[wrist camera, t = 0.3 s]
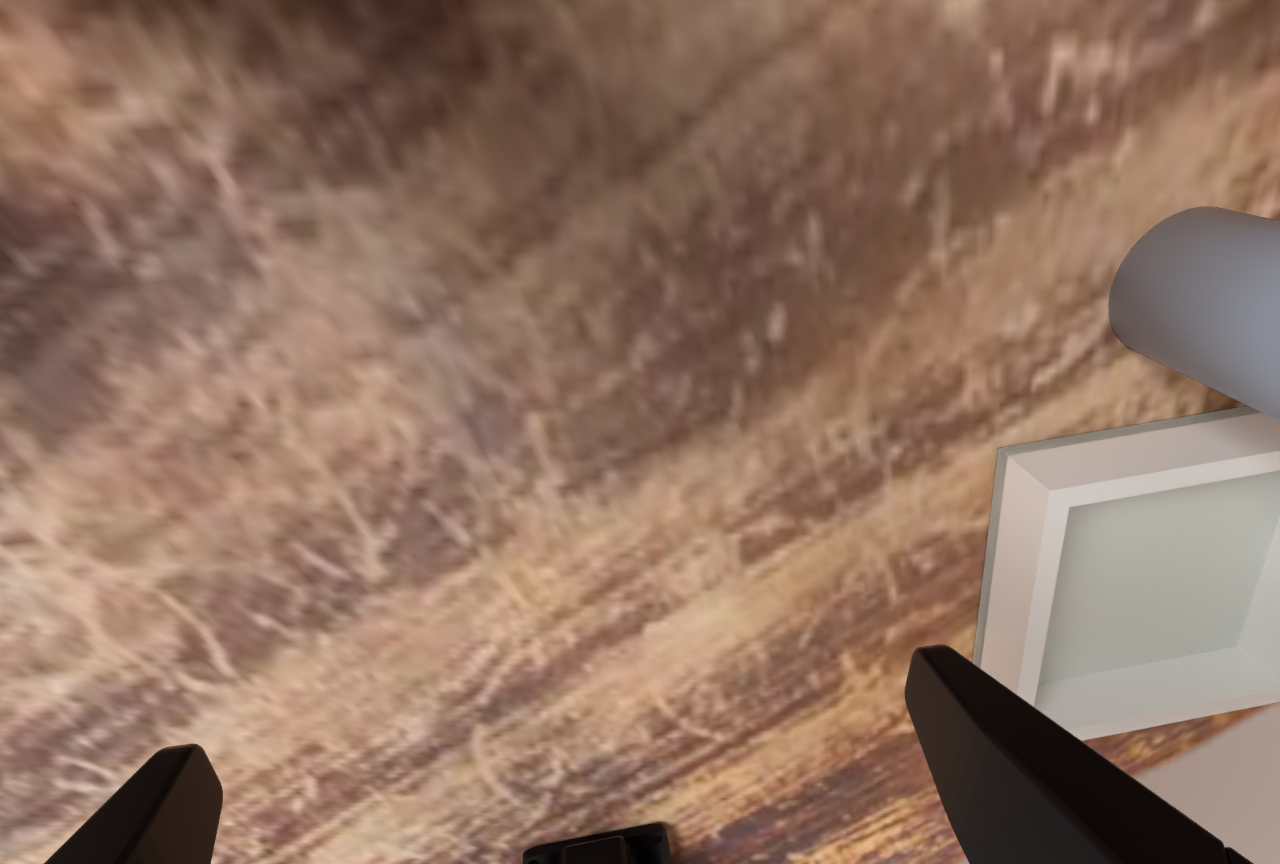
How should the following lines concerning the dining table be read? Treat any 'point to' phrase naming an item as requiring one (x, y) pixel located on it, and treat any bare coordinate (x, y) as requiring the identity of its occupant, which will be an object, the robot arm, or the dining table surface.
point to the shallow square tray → (1136, 572)
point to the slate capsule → (1207, 302)
